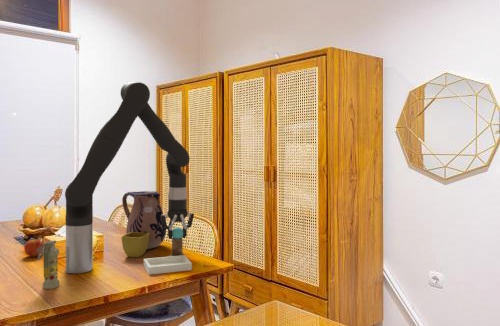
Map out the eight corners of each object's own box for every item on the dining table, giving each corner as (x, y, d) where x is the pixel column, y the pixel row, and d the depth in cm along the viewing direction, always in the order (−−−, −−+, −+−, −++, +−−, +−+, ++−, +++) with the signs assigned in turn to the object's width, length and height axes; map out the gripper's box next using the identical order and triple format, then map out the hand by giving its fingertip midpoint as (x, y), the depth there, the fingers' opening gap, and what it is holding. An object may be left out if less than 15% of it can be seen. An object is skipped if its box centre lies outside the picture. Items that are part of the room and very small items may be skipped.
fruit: (20, 257, 171) (20, 238, 170) (34, 253, 177) (33, 234, 177) (34, 259, 169) (34, 239, 168) (47, 255, 175) (47, 236, 175)
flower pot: (140, 259, 171) (140, 237, 171) (120, 257, 173) (120, 236, 172) (149, 253, 180) (150, 233, 179) (131, 252, 181) (131, 231, 181)
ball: (172, 241, 172) (172, 229, 172) (170, 238, 177) (170, 226, 177) (184, 240, 174) (184, 228, 174) (181, 237, 179) (181, 225, 179)
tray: (148, 274, 152) (148, 267, 152) (143, 265, 163) (143, 258, 163) (191, 269, 158) (191, 263, 158) (184, 261, 169) (184, 255, 169)
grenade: (61, 283, 141) (60, 239, 140) (52, 291, 134) (51, 244, 133) (42, 283, 140) (41, 239, 140) (32, 290, 134) (31, 244, 133)
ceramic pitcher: (157, 253, 181) (157, 195, 179) (111, 250, 184) (111, 193, 183) (171, 243, 198) (171, 190, 197) (129, 241, 201) (129, 189, 200)
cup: (171, 259, 172) (171, 240, 172) (168, 255, 178) (168, 237, 177) (185, 257, 174) (186, 239, 174) (182, 254, 180) (182, 236, 179)
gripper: (162, 199, 168) (161, 241, 169) (196, 198, 174) (196, 238, 175) (158, 197, 175) (158, 237, 176) (192, 196, 181) (191, 235, 182)
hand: (177, 238), depth 176 cm, fingers closed on ball, 5 cm apart
